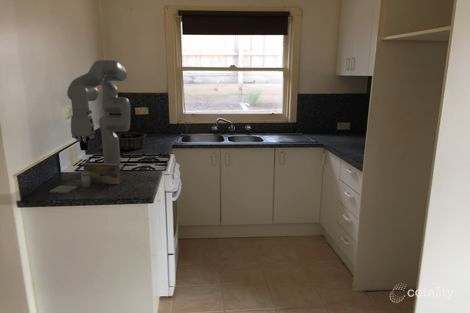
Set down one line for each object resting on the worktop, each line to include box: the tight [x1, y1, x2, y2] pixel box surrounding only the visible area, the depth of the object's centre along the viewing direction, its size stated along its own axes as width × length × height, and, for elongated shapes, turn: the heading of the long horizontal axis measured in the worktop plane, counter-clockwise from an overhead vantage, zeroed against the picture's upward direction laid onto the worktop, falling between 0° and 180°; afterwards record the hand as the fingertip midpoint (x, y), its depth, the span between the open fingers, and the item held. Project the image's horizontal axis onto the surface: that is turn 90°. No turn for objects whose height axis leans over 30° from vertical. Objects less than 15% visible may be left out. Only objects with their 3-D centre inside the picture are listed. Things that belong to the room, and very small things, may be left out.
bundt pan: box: [116, 132, 147, 151], centre depth 279 cm, size 26×26×10 cm
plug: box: [80, 171, 92, 188], centre depth 183 cm, size 4×4×7 cm
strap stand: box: [82, 162, 121, 185], centre depth 189 cm, size 3×18×10 cm, turn 83°
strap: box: [100, 168, 115, 176], centre depth 180 cm, size 11×2×1 cm, turn 173°
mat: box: [49, 185, 78, 194], centre depth 178 cm, size 9×9×1 cm
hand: (84, 149), depth 180 cm, fingers closed
